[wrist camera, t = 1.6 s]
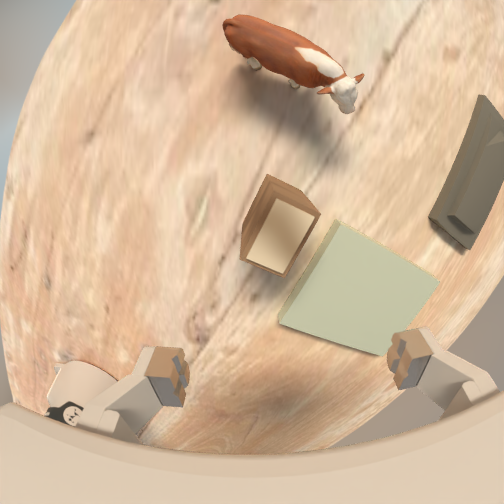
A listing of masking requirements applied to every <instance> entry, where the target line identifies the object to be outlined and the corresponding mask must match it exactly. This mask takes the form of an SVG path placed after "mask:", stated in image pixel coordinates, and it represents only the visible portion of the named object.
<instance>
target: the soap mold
mask: <svg viewBox="0 0 504 504" xmlns="http://www.w3.org/2000/svg"><path fill="white" fill-rule="evenodd" d="M503 180H504V119H503V118H502V117H501V115H500V114H499V113H498V111H497V110H496V109H495V107H494V106H493V105H492V103H491V102H490V101H489V100H488V98H487V97H486V96H485V95H478V98H477V102H476V105H475V108H474V111H473V114H472V117H471V120H470V123H469V125H468V128H467V131H466V134H465V136H464V139H463V142H462V144H461V147H460V149H459V152H458V154H457V156H456V159H455V161H454V163H453V166H452V168H451V170H450V173H449V175H448V177H447V179H446V181H445V184H444V186H443V188H442V190H441V192H440V194H439V196H438V198H437V200H436V202H435V204H434V206H433V208H432V210H431V212H430V214H429V216H428V217H429V218H430V219H431V220H432V221H433V222H434V223H436V224H437V225H438V226H440V227H441V228H442V229H443V230H445V231H446V232H447V233H448V234H449V235H451V236H452V237H453V238H454V239H455V240H457V241H458V242H459V243H460V244H461V245H462V246H464V247H465V248H466V249H468V250H470V249H471V248H472V246H473V244H474V242H475V240H476V239H477V237H478V235H479V233H480V231H481V229H482V227H483V225H484V223H485V221H486V219H487V217H488V215H489V213H490V211H491V209H492V206H493V204H494V202H495V200H496V197H497V195H498V193H499V190H500V188H501V185H502V183H503Z"/></svg>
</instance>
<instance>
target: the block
mask: <svg viewBox="0 0 504 504" xmlns="http://www.w3.org/2000/svg"><path fill="white" fill-rule="evenodd" d="M320 215H321V213H320V212H319V211H318V210H317V209H316V207H315V206H314V205H313V204H312V203H311V201H310V200H309V199H308V198H307V197H306V196H305V194H304V193H303V192H302V191H301V190H299V189H297V188H295V187H293V186H291V185H289V184H287V183H285V182H283V181H281V180H279V179H277V178H275V177H273V176H271V175H269V174H267V175H266V177H265V179H264V181H263V183H262V185H261V187H260V189H259V191H258V193H257V195H256V197H255V199H254V201H253V203H252V205H251V207H250V209H249V211H248V214H247V216H246V218H245V220H244V222H243V225H242V237H241V249H240V260H242V261H245V262H247V263H250V264H252V265H254V266H257V267H259V268H261V269H264V270H266V271H269V272H271V273H273V274H276V275H278V276H281V277H283V278H285V276H286V275H287V273H288V271H289V270H290V268H291V266H292V265H293V263H294V261H295V259H296V258H297V256H298V254H299V252H300V251H301V249H302V247H303V246H304V244H305V242H306V240H307V239H308V237H309V235H310V233H311V231H312V230H313V228H314V226H315V224H316V223H317V221H318V219H319V217H320Z"/></svg>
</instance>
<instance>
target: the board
mask: <svg viewBox="0 0 504 504" xmlns="http://www.w3.org/2000/svg"><path fill="white" fill-rule="evenodd" d="M439 283H440V281H439V280H438V279H437V278H436V277H435V276H434V275H432V274H431V273H429V272H427V271H426V270H424V269H423V268H421V267H419V266H418V265H416V264H415V263H413V262H411V261H410V260H408V259H406V258H405V257H403V256H401V255H400V254H398V253H396V252H395V251H393V250H391V249H390V248H388V247H386V246H384V245H383V244H381V243H379V242H377V241H376V240H374V239H372V238H370V237H369V236H367V235H365V234H363V233H361V232H360V231H358V230H356V229H354V228H352V227H350V226H349V225H347V224H345V223H343V222H341V221H339V220H337V219H335V220H334V222H333V224H332V226H331V228H330V229H329V231H328V233H327V234H326V236H325V238H324V240H323V241H322V243H321V245H320V246H319V248H318V250H317V252H316V253H315V255H314V257H313V258H312V260H311V262H310V263H309V265H308V267H307V268H306V270H305V272H304V273H303V275H302V276H301V278H300V280H299V281H298V283H297V285H296V286H295V288H294V289H293V291H292V293H291V294H290V296H289V297H288V299H287V301H286V302H285V304H284V305H283V307H282V308H281V310H280V312H279V313H278V318H279V324H282V325H285V326H288V327H291V328H293V329H296V330H299V331H302V332H305V333H308V334H311V335H314V336H317V337H320V338H323V339H327V340H330V341H333V342H336V343H339V344H342V345H346V346H349V347H352V348H355V349H359V350H362V351H366V352H369V353H372V354H376V355H379V356H384V354H385V353H386V352H387V351H388V349H389V348H390V346H391V345H392V344H393V343H392V341H391V339H392V336H393V334H394V333H396V332H401V331H405V330H406V328H407V327H408V326H409V325H410V323H411V322H412V321H413V319H414V318H415V317H416V315H417V314H418V313H419V311H420V310H421V309H422V307H423V306H424V305H425V303H426V302H427V301H428V299H429V298H430V296H431V295H432V293H433V292H434V291H435V289H436V288H437V286H438V285H439Z"/></svg>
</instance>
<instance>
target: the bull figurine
mask: <svg viewBox="0 0 504 504" xmlns="http://www.w3.org/2000/svg"><path fill="white" fill-rule="evenodd" d="M223 30H224V32H225V36H226V38H227V40H228V42H229V45H230V47H231V49H232V50H234V51H236V52H237V53H239V54H240V53H241V54H242V55H243V57H245V58H247V63H248V64H250V65H251V67H252V68H253V69H254V70H259V69H260V68H261V67H262V66H263V67H265V68H266V69H268V70H270V71H272V72H275V73H277V74H282V75H284V76H286V77H288V78H290V80H289V81H288V82H289V83H291V86H292V87H293V88H294V89H297V88H299V87H300V85H301V86H305V87H308V88H315V87H318V86H323V87H326V88H324V89H322V90H321V91H318V92H317V94H330V96H331V98H332V99H333V100H334V101H335V102H336V103H337V104H338V105H339V109H340V111H341V112H342V113H345V114H349V113H352V112H354V111H355V106H354V103H355V101H356V99H357V94H358V91H357V89H356V84H358V83H359V82H360V81H361V80H362V79H363V77H364V74H360V75H358V76H356V77H354V78H349V77H348V76H347V75H346V73H345V71H344V70H343V68H342V67H341V65H340V64H339V63H337V62H336V61H335V60H333V58H332V57H331V56H330V55H329V54H328V53H327V52H326V51H325V50H323V49H322V48H320V47H319V46H317V45H315V44H314V43H312V42H311V41H310V40H308V39H306V38H305V37H303V36H301V35H299V34H297V33H295V32H293V31H291V30H289V29H286V28H283V27H279V26H276V25H273V24H271V23H269V22H267V21H264V20H262V19H259V18H256V17H253V16H248V15H237V16H235V17H233V18H232V19H226V20H225V21H224V22H223ZM253 57H254V58H256V59H257V60H258V61H257V60H256V59H254V58H253Z"/></svg>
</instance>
